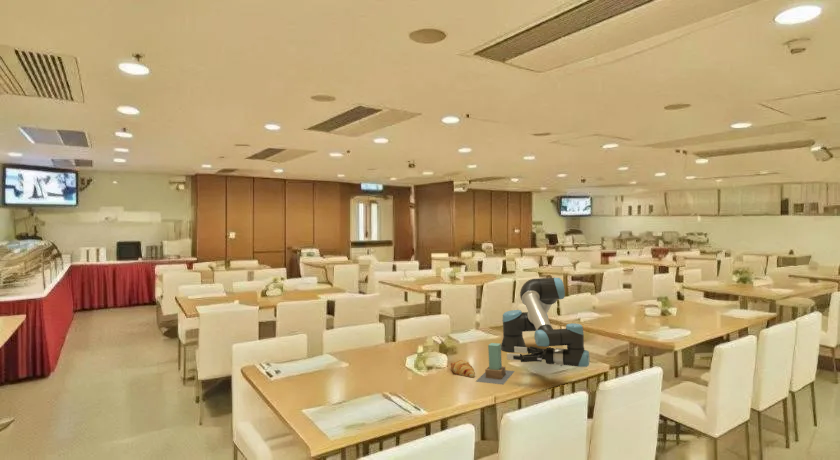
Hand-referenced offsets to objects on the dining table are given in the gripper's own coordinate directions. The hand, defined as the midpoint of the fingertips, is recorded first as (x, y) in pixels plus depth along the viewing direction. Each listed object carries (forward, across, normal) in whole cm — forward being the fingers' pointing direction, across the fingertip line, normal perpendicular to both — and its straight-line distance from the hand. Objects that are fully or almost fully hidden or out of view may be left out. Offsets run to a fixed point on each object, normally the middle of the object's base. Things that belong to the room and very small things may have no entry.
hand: (510, 352), depth 229 cm
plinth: (+8, 0, -12) cm, 15 cm away
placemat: (+8, 0, -13) cm, 15 cm away
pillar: (+8, 0, -8) cm, 12 cm away
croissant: (+26, 0, -13) cm, 30 cm away
